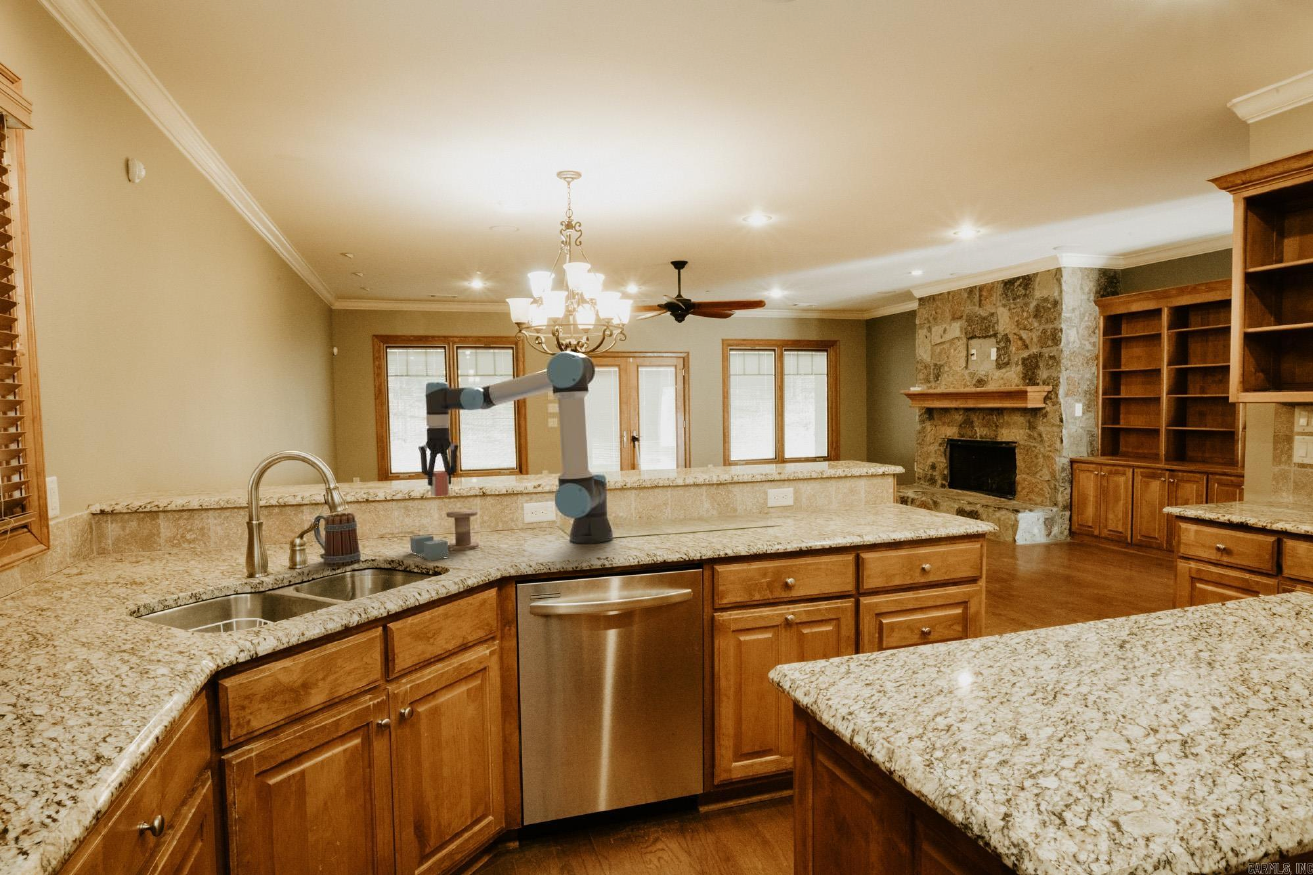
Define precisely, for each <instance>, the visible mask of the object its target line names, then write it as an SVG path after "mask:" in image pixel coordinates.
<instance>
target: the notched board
mask: <svg viewBox="0 0 1313 875" xmlns="http://www.w3.org/2000/svg"><path fill="white" fill-rule="evenodd" d="M409 539H410V552H411V551H412V552H413V553H416V554H418V555H420V556H422V557H424V558H426V559H425V560H427V559H428V560H427V561H429V560H432V561H434V560H433V559H438V560H441V559H440V558H443V559H445V558H444V557H448V558H449V549H448V545H449V544H448V543H449V542H448V541H447V540H445V539H436V540H434V535H431V534H424V535H423V534H422V535H415V536H410V537H409ZM413 553H412V554H413ZM420 556H419V557H420ZM422 557H421V558H422ZM424 558H423V559H424Z"/></svg>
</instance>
